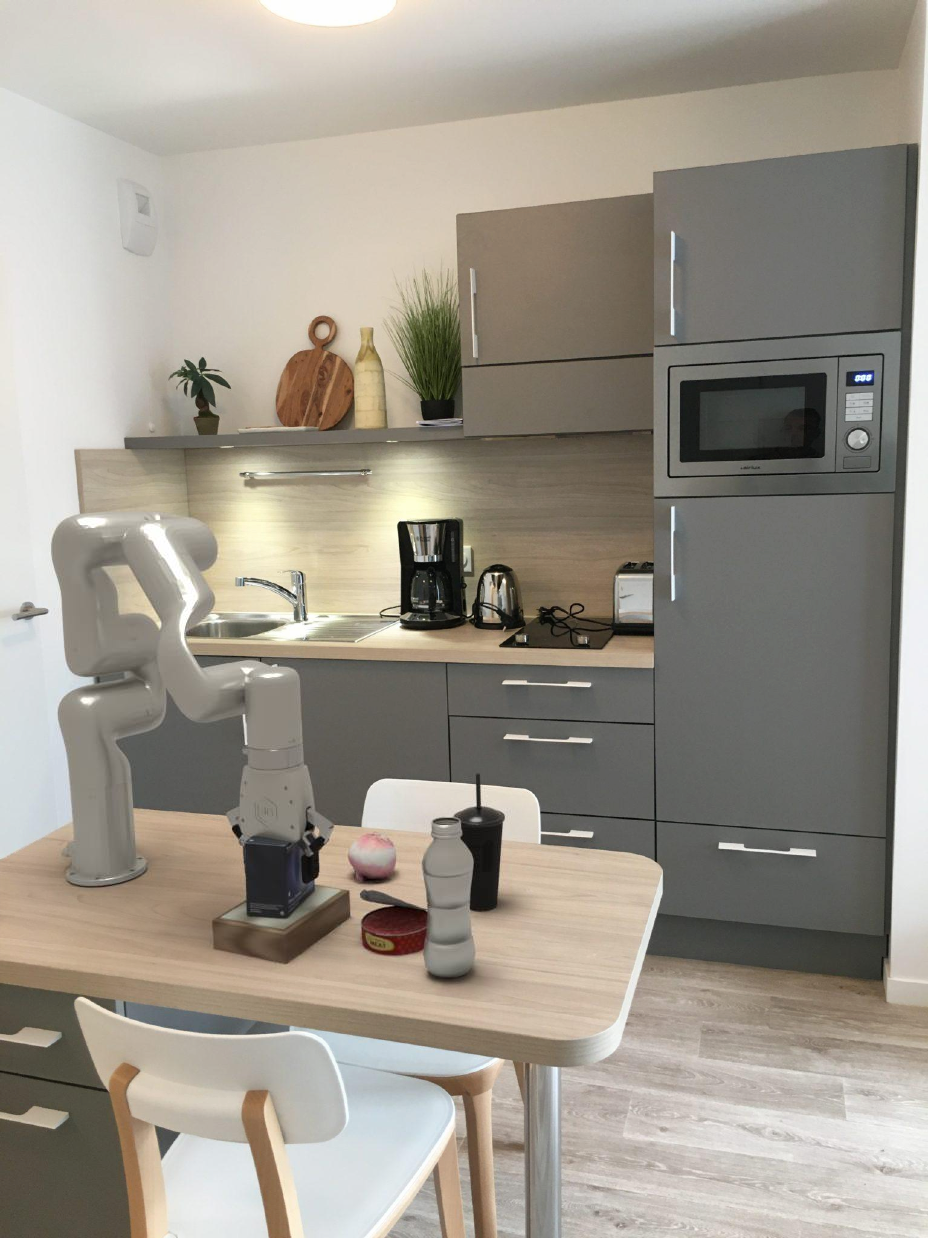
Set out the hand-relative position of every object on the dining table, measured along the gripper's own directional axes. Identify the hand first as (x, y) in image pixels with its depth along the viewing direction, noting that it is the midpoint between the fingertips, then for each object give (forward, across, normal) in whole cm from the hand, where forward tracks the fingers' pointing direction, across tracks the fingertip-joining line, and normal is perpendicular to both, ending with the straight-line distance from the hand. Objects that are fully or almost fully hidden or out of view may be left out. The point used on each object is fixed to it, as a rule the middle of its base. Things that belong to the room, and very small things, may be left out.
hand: (281, 875), depth 141 cm
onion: (+9, +1, +23) cm, 25 cm away
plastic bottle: (+8, +27, -2) cm, 28 cm away
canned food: (+9, +16, +4) cm, 19 cm away
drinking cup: (+8, +22, +19) cm, 30 cm away
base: (+8, 0, 0) cm, 8 cm away
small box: (+4, 0, 0) cm, 4 cm away
